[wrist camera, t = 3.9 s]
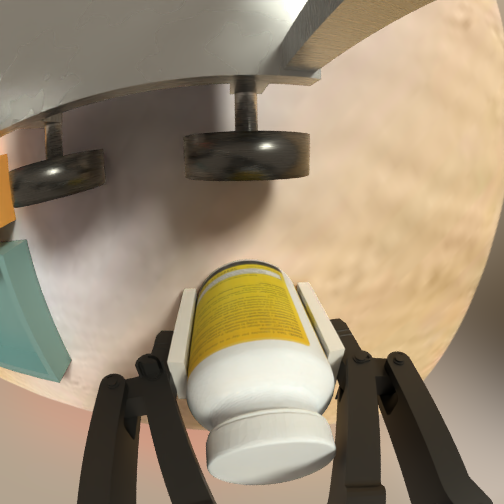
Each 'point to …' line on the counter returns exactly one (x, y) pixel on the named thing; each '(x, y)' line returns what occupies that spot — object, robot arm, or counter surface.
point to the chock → (5, 194)
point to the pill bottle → (258, 377)
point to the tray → (27, 319)
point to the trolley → (169, 74)
